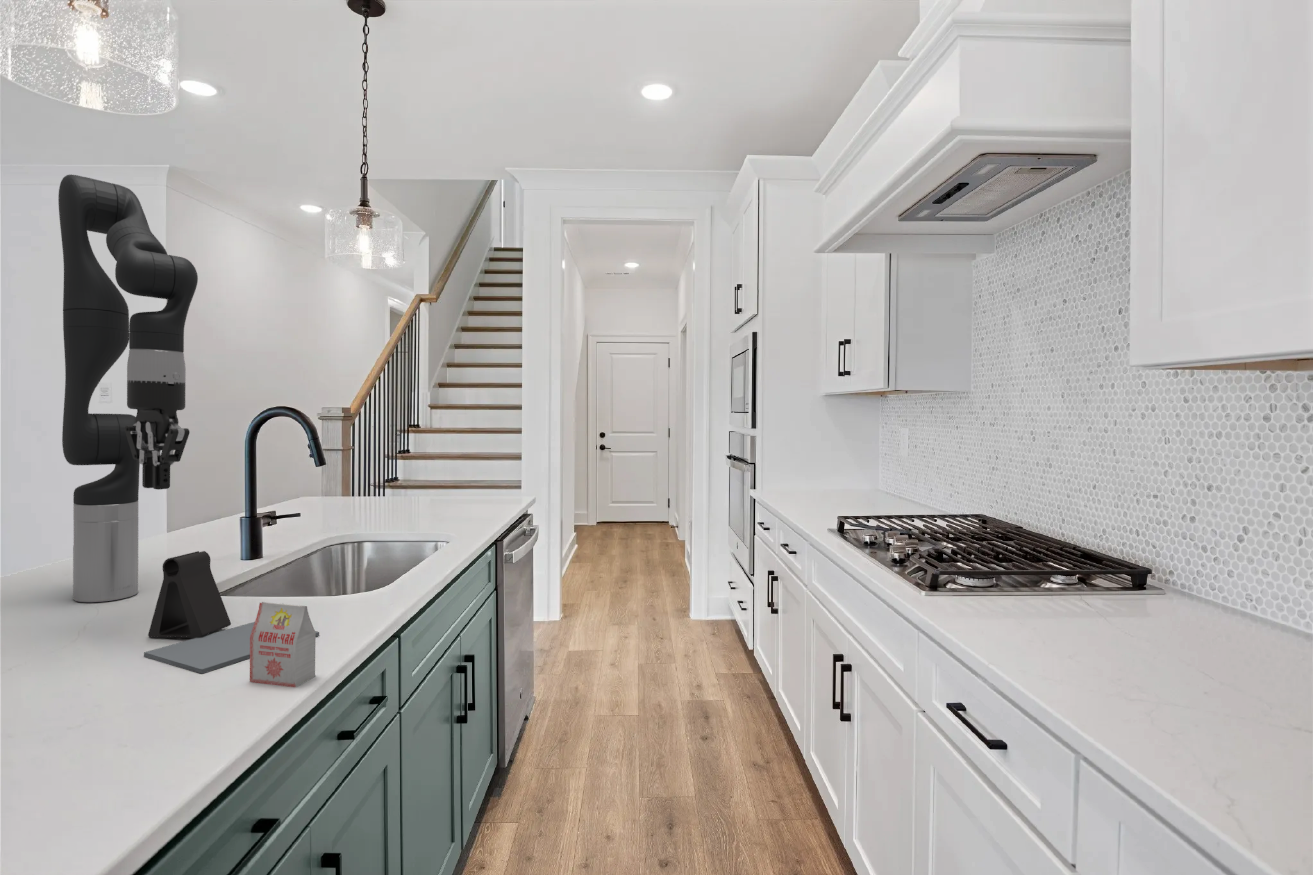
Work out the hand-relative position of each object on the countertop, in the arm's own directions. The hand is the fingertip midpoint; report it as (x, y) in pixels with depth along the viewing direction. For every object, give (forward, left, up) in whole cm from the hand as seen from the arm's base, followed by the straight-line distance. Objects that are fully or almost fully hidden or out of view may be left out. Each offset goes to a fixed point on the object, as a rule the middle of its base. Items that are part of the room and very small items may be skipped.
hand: (156, 487), depth 110 cm
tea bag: (+37, -5, -22) cm, 44 cm away
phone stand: (+9, 0, -22) cm, 24 cm away
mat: (+20, 0, -22) cm, 30 cm away
